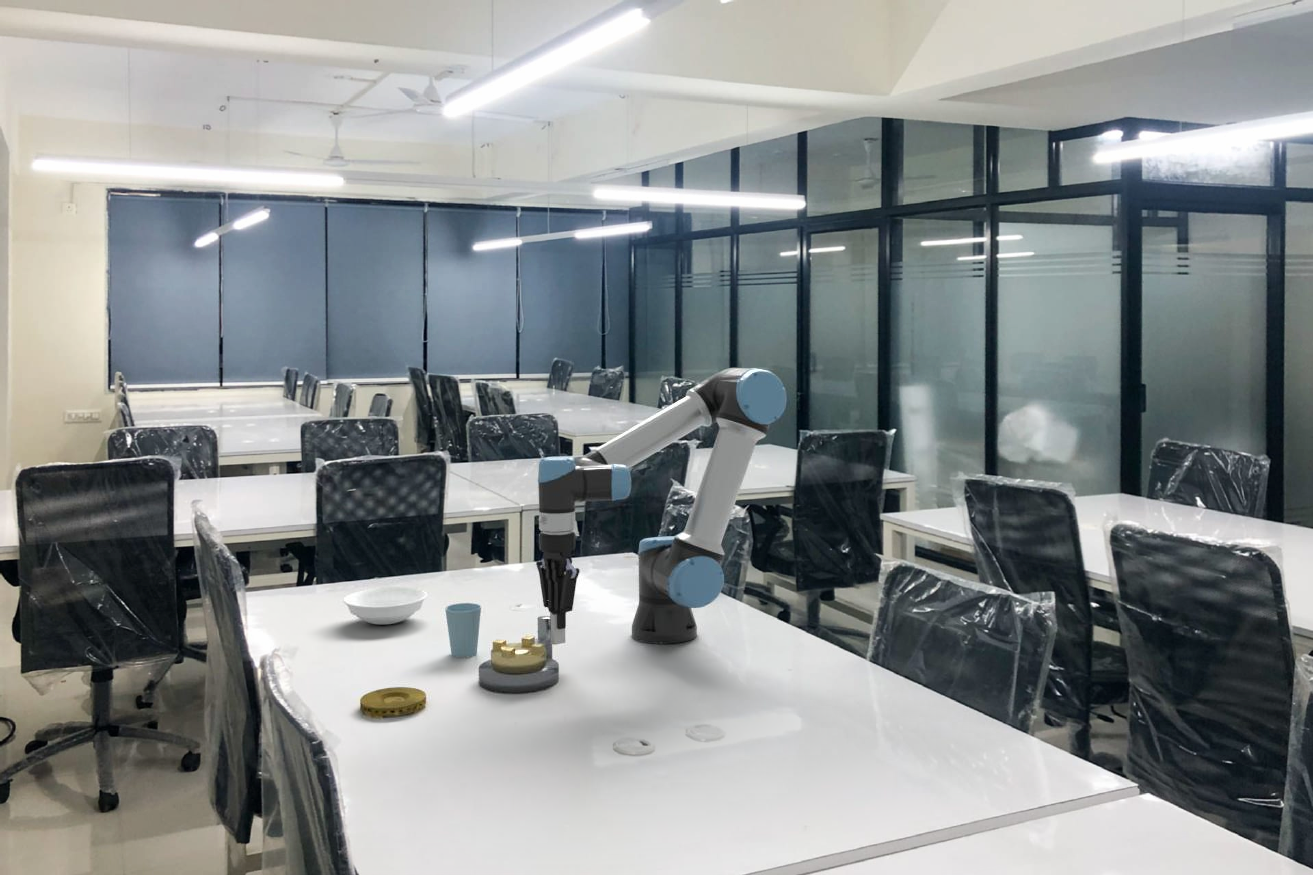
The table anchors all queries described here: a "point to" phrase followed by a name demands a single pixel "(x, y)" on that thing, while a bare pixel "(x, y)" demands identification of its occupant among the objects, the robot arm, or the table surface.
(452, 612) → the cup
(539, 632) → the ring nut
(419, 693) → the gold gear disc
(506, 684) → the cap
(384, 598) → the bowl
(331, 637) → the table surface
